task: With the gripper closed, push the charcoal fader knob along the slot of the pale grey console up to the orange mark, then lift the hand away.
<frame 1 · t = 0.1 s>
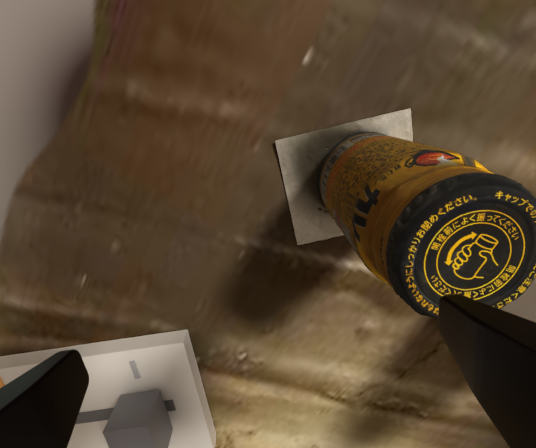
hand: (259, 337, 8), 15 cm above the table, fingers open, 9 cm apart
condiment: (348, 179, 22), on the table
milk bottle: (531, 271, 25), on the table
fader: (140, 430, 24), point 3 cm above the table, slide at -6.0 cm
console: (82, 402, 27), on the table
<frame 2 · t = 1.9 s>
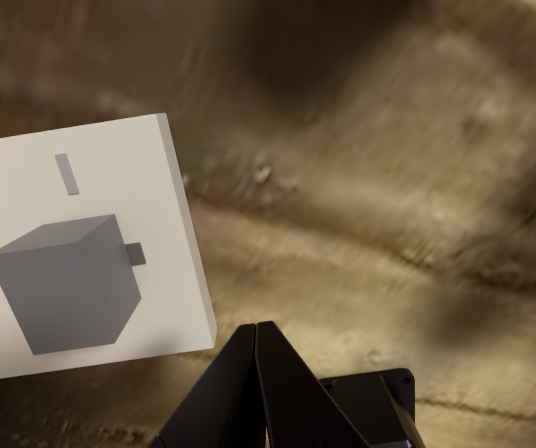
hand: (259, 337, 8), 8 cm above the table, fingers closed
fader: (76, 280, 13), point 3 cm above the table, slide at -6.0 cm
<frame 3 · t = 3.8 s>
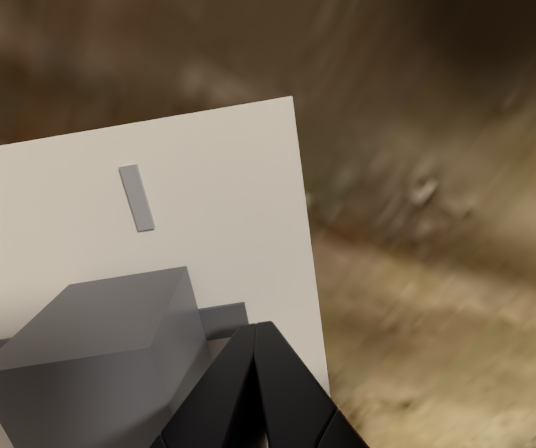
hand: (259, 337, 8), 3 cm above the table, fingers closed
fader: (129, 384, 8), point 3 cm above the table, slide at -5.3 cm, touching gripper
console: (7, 327, 11), on the table
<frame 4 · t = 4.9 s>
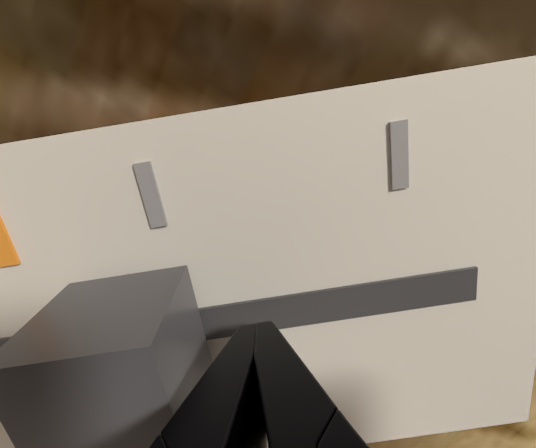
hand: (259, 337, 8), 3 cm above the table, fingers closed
fader: (129, 383, 8), point 3 cm above the table, slide at 1.0 cm, touching gripper
console: (197, 296, 11), on the table
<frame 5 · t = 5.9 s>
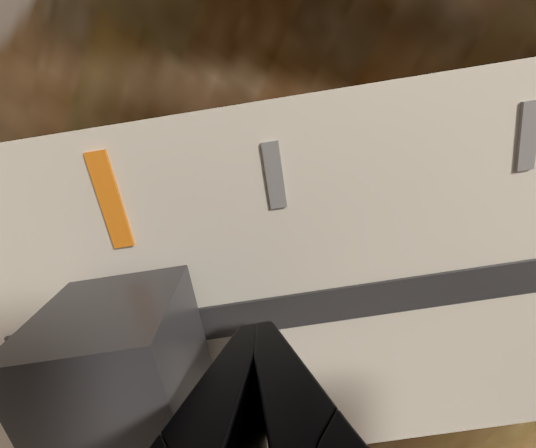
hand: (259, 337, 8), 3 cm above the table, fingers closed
fader: (128, 382, 8), point 3 cm above the table, slide at 4.0 cm, touching gripper
console: (289, 283, 11), on the table
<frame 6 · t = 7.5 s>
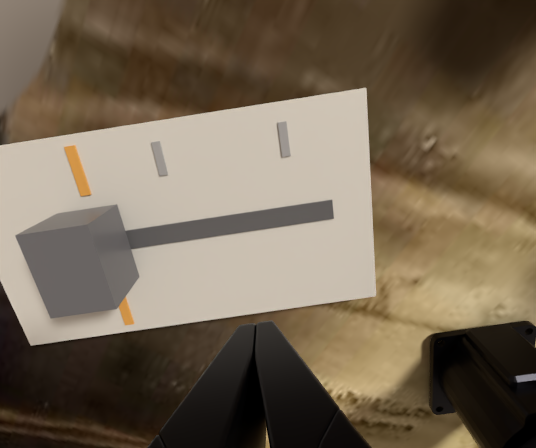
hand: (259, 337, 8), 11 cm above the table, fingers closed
fader: (85, 258, 16), point 3 cm above the table, slide at 4.0 cm
console: (184, 222, 19), on the table
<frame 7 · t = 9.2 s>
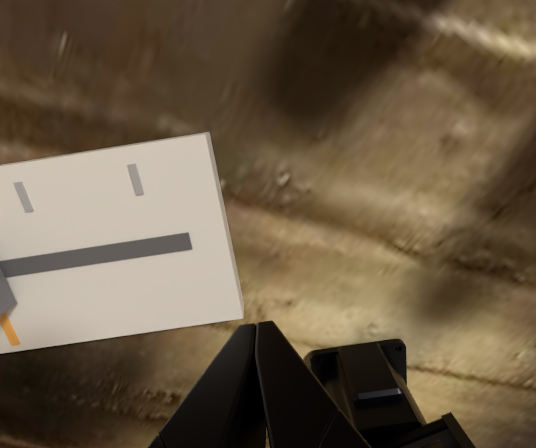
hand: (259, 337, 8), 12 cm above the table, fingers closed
console: (65, 250, 20), on the table
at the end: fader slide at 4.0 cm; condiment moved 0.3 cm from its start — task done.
